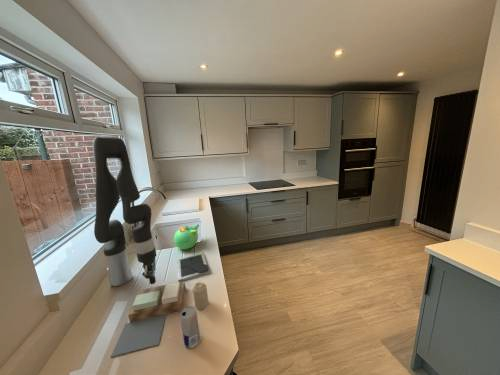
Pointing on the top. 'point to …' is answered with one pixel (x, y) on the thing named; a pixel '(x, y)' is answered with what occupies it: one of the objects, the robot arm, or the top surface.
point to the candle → (200, 296)
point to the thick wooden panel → (160, 308)
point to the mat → (140, 335)
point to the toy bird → (186, 237)
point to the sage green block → (146, 300)
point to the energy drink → (190, 327)
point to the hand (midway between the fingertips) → (153, 282)
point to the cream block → (171, 293)
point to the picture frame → (191, 267)
